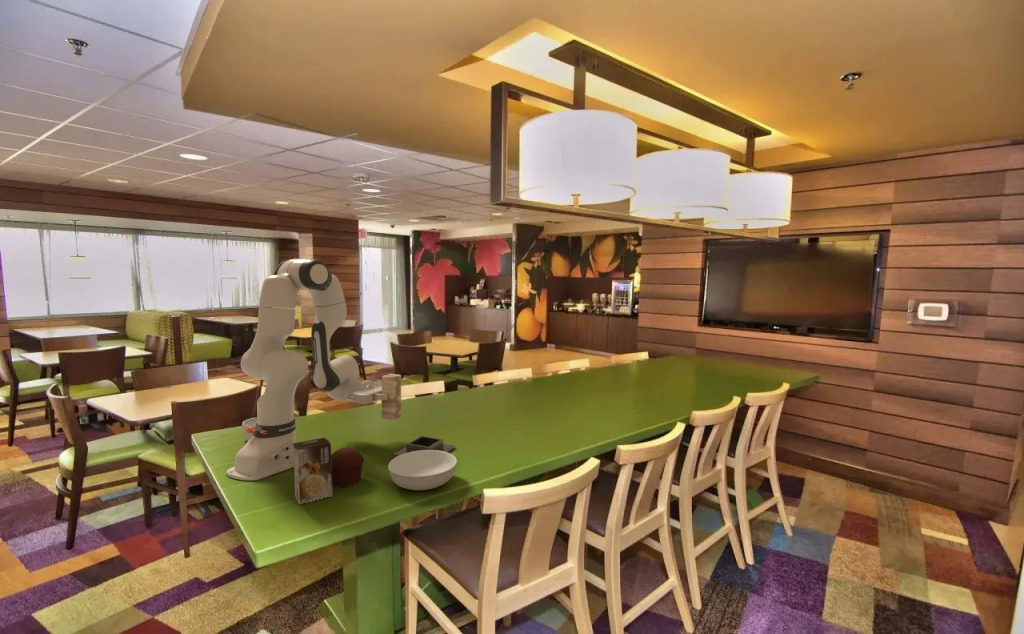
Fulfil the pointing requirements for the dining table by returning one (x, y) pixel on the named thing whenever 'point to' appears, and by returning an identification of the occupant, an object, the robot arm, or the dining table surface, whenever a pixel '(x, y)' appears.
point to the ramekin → (249, 423)
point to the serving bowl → (422, 469)
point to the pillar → (391, 396)
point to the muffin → (346, 466)
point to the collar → (425, 445)
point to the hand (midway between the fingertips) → (393, 395)
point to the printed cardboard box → (312, 470)
